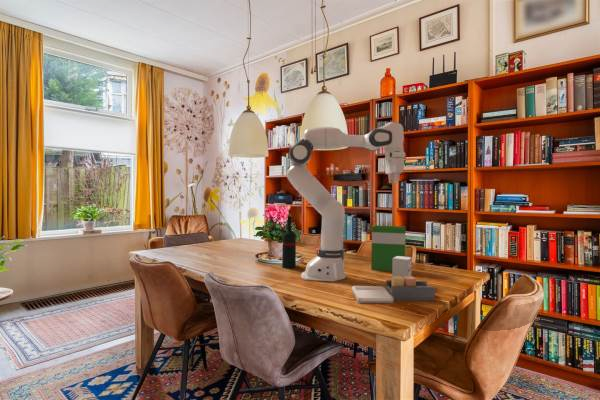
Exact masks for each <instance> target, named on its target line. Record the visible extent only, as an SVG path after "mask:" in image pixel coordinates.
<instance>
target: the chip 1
mask: <svg viewBox="0 0 600 400" xmlns="http://www.w3.org/2000/svg"><path fill="white" fill-rule="evenodd" d="M390 280H391V286H404V279H403V278H402V277H401V276H392V275H391V279H390Z"/></svg>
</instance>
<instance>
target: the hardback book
mask: <svg viewBox="0 0 600 400" xmlns="http://www.w3.org/2000/svg"><path fill="white" fill-rule="evenodd" d="M396 256H403V257H406V226H400V225H399V226H395V225H372V226H371V265H370V266H371V268H370V269H371V271H382V272H383V271H384V272H392V263H393V258H394V257H396Z"/></svg>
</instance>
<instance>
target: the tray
mask: <svg viewBox="0 0 600 400" xmlns="http://www.w3.org/2000/svg"><path fill="white" fill-rule="evenodd" d="M351 289H352V290H351V291H352V293H353V294H354V297H355V299H356V300H357V303H358V304H360V303H361V304H394V302H395V301H394V298H393V297H392V295H391V294H390V293H389V292H388V291H387V290H386V286H384V285H383V286H382V285H380V286H379V285H376V286H375V285H372V286H371V285H352V287H351Z"/></svg>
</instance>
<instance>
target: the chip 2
mask: <svg viewBox="0 0 600 400" xmlns="http://www.w3.org/2000/svg"><path fill="white" fill-rule="evenodd" d="M403 279H404V286H416V281H417V278H415V277H414V276H411V277H409V276H403Z"/></svg>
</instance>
